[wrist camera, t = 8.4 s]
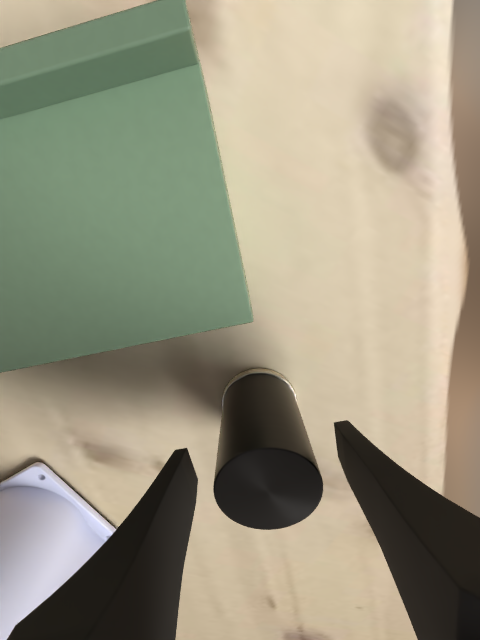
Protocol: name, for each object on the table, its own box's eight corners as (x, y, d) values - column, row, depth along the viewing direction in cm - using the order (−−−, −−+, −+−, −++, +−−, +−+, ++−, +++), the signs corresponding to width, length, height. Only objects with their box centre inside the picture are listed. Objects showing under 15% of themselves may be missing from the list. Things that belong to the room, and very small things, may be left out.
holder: (308, 410, 16) (345, 506, 10) (246, 441, 17) (249, 545, 11) (272, 354, 15) (291, 426, 9) (207, 390, 16) (188, 477, 10)
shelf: (251, 305, 14) (255, 334, 10) (-11, 359, 15) (-111, 406, 11) (206, 87, 11) (183, -11, 7) (-115, 175, 12) (-311, 140, 8)
